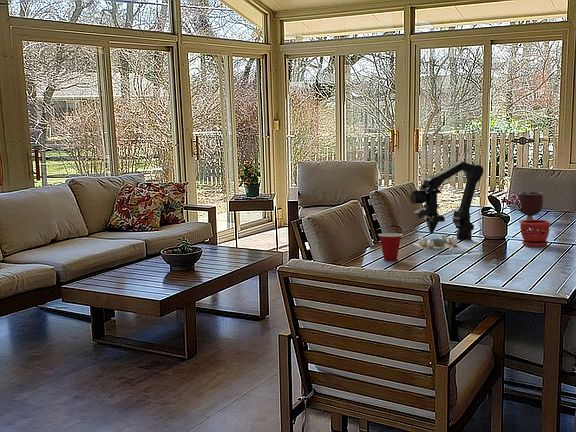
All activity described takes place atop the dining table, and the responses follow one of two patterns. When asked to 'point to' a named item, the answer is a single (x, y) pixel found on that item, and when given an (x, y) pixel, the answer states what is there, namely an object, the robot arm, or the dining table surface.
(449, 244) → the board
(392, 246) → the plastic cup
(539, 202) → the mate gourd
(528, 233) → the plant pot
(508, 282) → the dining table surface
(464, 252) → the mat
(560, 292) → the dining table surface
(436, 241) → the dark grey hexagonal block
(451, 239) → the steel spacers
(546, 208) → the dining table surface
